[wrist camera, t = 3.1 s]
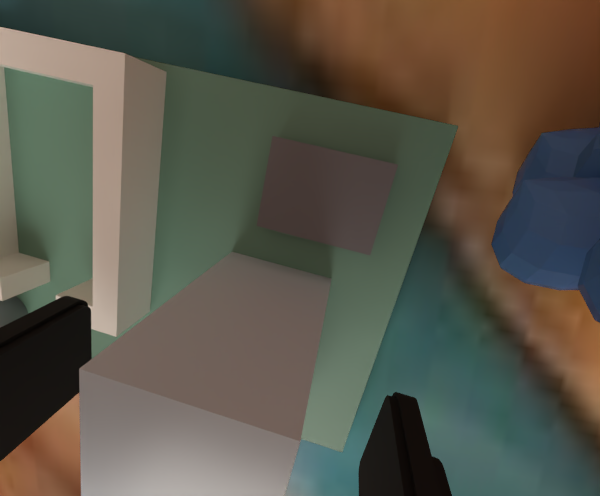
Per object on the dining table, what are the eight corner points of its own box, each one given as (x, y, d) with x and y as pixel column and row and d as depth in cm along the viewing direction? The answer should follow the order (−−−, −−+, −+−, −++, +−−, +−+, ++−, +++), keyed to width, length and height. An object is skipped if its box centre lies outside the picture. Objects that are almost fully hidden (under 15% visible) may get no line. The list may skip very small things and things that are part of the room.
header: (166, 72, 10) (125, 53, 9) (149, 311, 13) (116, 336, 12) (-23, 31, 11) (-99, 6, 9) (1, 267, 14) (-53, 283, 12)
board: (447, 129, 11) (492, 115, 7) (343, 429, 15) (339, 512, 11) (-26, 27, 12) (-175, -23, 9) (4, 321, 17) (-88, 364, 13)
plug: (331, 278, 12) (300, 441, 5) (291, 424, 14) (233, 669, 7) (231, 251, 12) (78, 368, 5) (209, 398, 14) (82, 607, 8)
